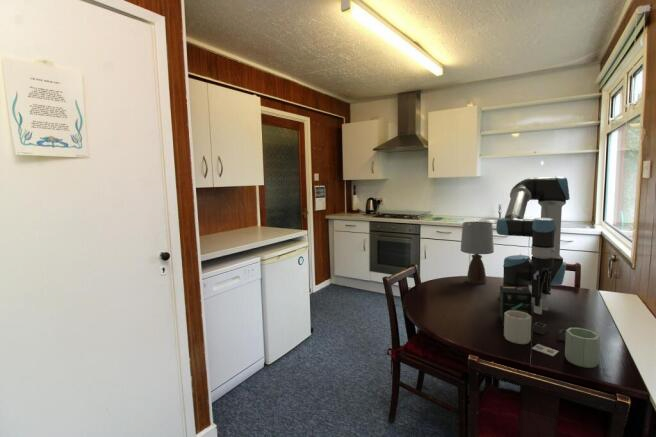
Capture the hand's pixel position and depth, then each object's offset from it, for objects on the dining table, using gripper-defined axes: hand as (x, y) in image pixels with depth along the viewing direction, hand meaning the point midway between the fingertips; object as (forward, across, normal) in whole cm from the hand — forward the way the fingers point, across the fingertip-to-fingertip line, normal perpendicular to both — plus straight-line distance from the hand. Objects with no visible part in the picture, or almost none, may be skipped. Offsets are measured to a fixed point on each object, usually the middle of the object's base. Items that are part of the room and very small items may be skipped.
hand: (540, 311), depth 135 cm
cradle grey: (+9, -1, 0) cm, 9 cm away
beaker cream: (+8, -14, +3) cm, 17 cm away
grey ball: (-2, 0, 0) cm, 2 cm away
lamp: (+10, +43, +52) cm, 68 cm away
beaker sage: (+8, -14, -18) cm, 25 cm away
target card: (+8, -16, -8) cm, 19 cm away
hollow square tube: (+9, -1, -9) cm, 13 cm away
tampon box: (+9, +2, +11) cm, 15 cm away
